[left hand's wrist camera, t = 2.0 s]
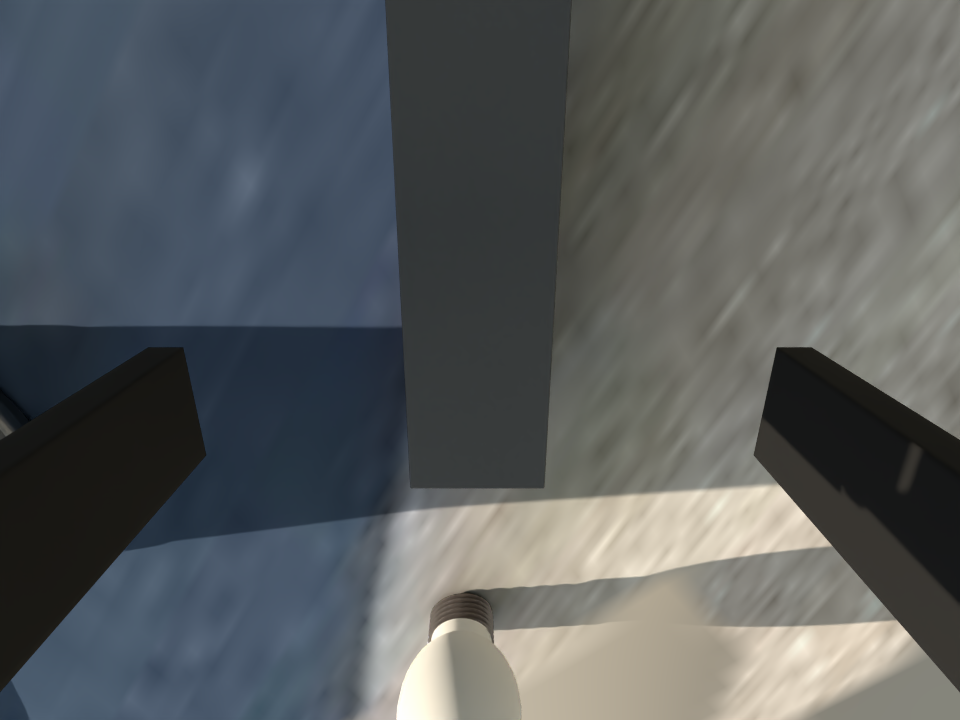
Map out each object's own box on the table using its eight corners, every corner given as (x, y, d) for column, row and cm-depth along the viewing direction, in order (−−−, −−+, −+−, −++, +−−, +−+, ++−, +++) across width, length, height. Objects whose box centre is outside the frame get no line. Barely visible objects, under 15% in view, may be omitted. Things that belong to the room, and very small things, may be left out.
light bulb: (429, 659, 38) (412, 852, 27) (396, 586, 35) (363, 768, 25) (525, 638, 37) (543, 828, 27) (498, 562, 35) (506, 739, 24)
